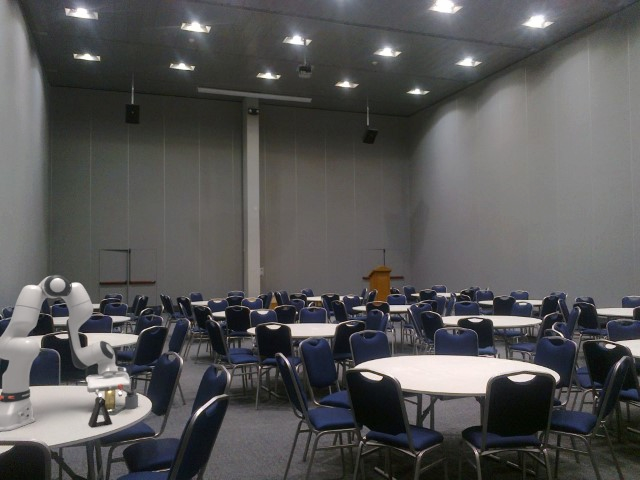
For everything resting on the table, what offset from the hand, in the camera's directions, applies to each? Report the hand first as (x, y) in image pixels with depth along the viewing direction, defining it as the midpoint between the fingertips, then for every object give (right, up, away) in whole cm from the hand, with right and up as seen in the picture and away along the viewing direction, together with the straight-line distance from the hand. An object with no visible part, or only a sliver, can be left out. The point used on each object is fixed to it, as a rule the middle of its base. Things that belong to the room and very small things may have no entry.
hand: (110, 396), depth 275 cm
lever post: (+8, -8, +8) cm, 13 cm away
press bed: (0, -7, 0) cm, 7 cm away
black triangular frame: (+3, -7, -21) cm, 22 cm away
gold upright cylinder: (0, -6, 0) cm, 6 cm away
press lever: (+7, +2, +1) cm, 7 cm away
